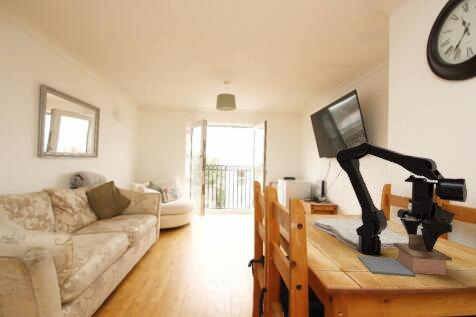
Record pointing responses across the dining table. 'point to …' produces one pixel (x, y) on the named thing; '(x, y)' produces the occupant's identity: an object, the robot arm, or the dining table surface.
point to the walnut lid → (420, 249)
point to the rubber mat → (385, 266)
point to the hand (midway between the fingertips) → (420, 246)
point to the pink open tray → (422, 264)
